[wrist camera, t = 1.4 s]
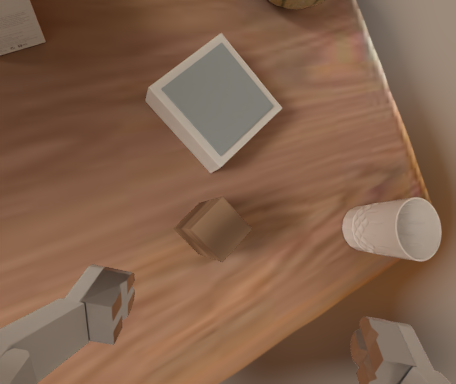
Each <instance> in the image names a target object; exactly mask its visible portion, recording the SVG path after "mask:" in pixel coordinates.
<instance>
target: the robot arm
mask: <svg viewBox="0 0 456 384" xmlns="http://www.w3.org/2000/svg"><path fill="white" fill-rule="evenodd" d="M134 281H135V278H134V273H132V272H127V271H123V270H118V269H114V268H109V267H103V266H98V265H94V264H92V265H90V266H89V267H88V268H87V269H86V270H85V272H84V273H83V274H82V276H81V277H80V278H79V280H78V281H77V282H76V284H75V285H74V286H73V287H72V289H71V290H70V291H69V293H68V294H67V295H66V297H65V298H64V299H61V298H59V299H57V300H55V301H53V302H51V303H49V304H47V305H45V306H44V307H42V308H40V309H38V310H36V311H34V312H32V313H30V314H28V315H26V316H24V317H22V318H20V319H18V320H16V321H14V322H13V323H11V324H9V325H7V326H5V327H3V328H1V329H0V384H37V383H38V382H39V381H40V380H42V379H43V378H44V377H45V376H47V375H48V374H49V373H50V372H52V371H53V370H54V369H56V368H57V367H58V366H59V365H61V364H62V363H63V362H64V361H66V360H67V359H68V358H70V357H71V356H72V355H73V354H75V353H76V352H77V351H78V350H80V349H81V348H82V347H83V346H85V345H86V344H87V343H89V341H94V342H100V343H106V344H112V345H114V344H115V342H116V340H117V338H118V336H119V334H120V331H121V329H122V320H123V319H125V318H126V317H128V315H129V313H130V311H131V308H132V305H133V302H134V295H135V290H134V288H133V287H132V285H133V283H134ZM359 325H360V329H359V330H357V331H355V332H354V334H353V336H352V338H351V345H350V347H351V355H352V359H353V361H354V362H355V363H356V364H357V366H358V367H359V369H358V371H357V373H356V374H357V377H358V381H359V384H452V383H451V382H450V381H449V380H447V379H446V378H445V377H444V376H443V375H442V374H441V373H440V372H438V371H434V369H433V367H432V365H431V363H430V361H429V359H428V357H427V355H426V353H425V351H424V349H423V347H422V345H421V343H420V341H419V339H418V338H417V335H416V333H415V331H414V330H413V328H412V327H411V326H410V325H409V324H404V323H399V322H392V321H387V320H382V319H377V318H371V317H366V316H365V317H363V318H362V319H361V321H360V322H359Z"/></svg>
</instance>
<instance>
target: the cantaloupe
mask: <svg viewBox="0 0 456 384" xmlns="http://www.w3.org/2000/svg"><path fill="white" fill-rule="evenodd" d="M268 1H270V2H271V3H273V4H275V5H276V6H282V7H284V8H287V9H302V8H306V7H311V6H315V5H317V4H319V3H321V2H323V1H325V0H268Z"/></svg>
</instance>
